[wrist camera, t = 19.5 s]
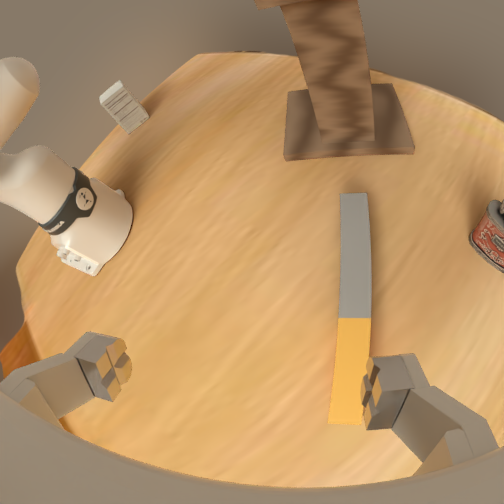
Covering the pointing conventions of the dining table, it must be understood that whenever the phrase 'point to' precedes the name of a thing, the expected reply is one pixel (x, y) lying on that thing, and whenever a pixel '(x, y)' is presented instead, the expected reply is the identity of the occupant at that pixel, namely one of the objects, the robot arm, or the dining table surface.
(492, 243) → the lighter
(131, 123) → the supplement box
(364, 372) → the gray and orange bar
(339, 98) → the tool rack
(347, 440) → the dining table surface
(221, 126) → the dining table surface
